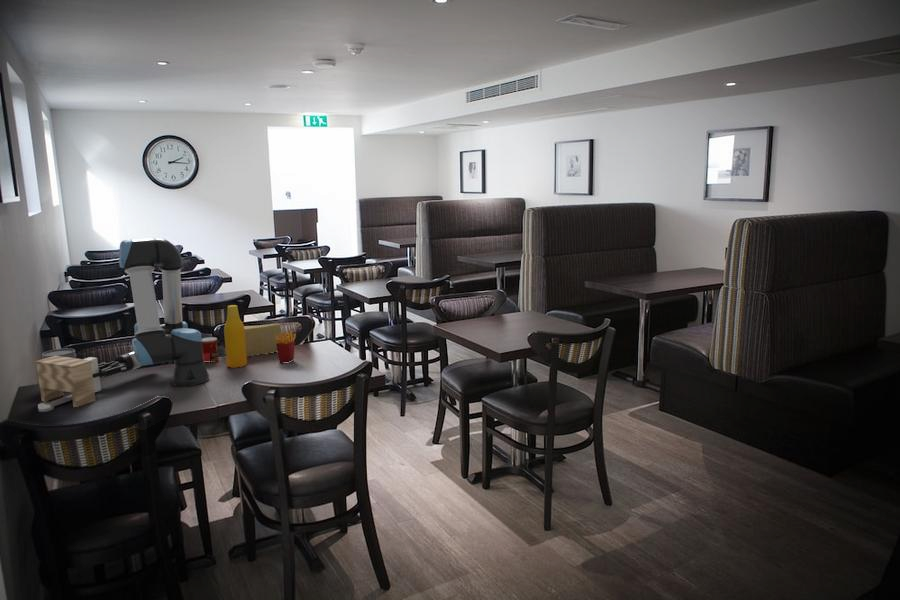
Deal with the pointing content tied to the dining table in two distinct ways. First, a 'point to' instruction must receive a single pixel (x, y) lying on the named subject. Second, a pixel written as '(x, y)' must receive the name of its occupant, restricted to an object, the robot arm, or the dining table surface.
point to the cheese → (261, 339)
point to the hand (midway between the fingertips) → (79, 377)
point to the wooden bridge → (66, 379)
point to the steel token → (45, 406)
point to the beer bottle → (234, 339)
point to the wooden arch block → (95, 381)
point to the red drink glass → (210, 349)
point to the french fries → (285, 347)
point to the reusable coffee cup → (60, 353)
